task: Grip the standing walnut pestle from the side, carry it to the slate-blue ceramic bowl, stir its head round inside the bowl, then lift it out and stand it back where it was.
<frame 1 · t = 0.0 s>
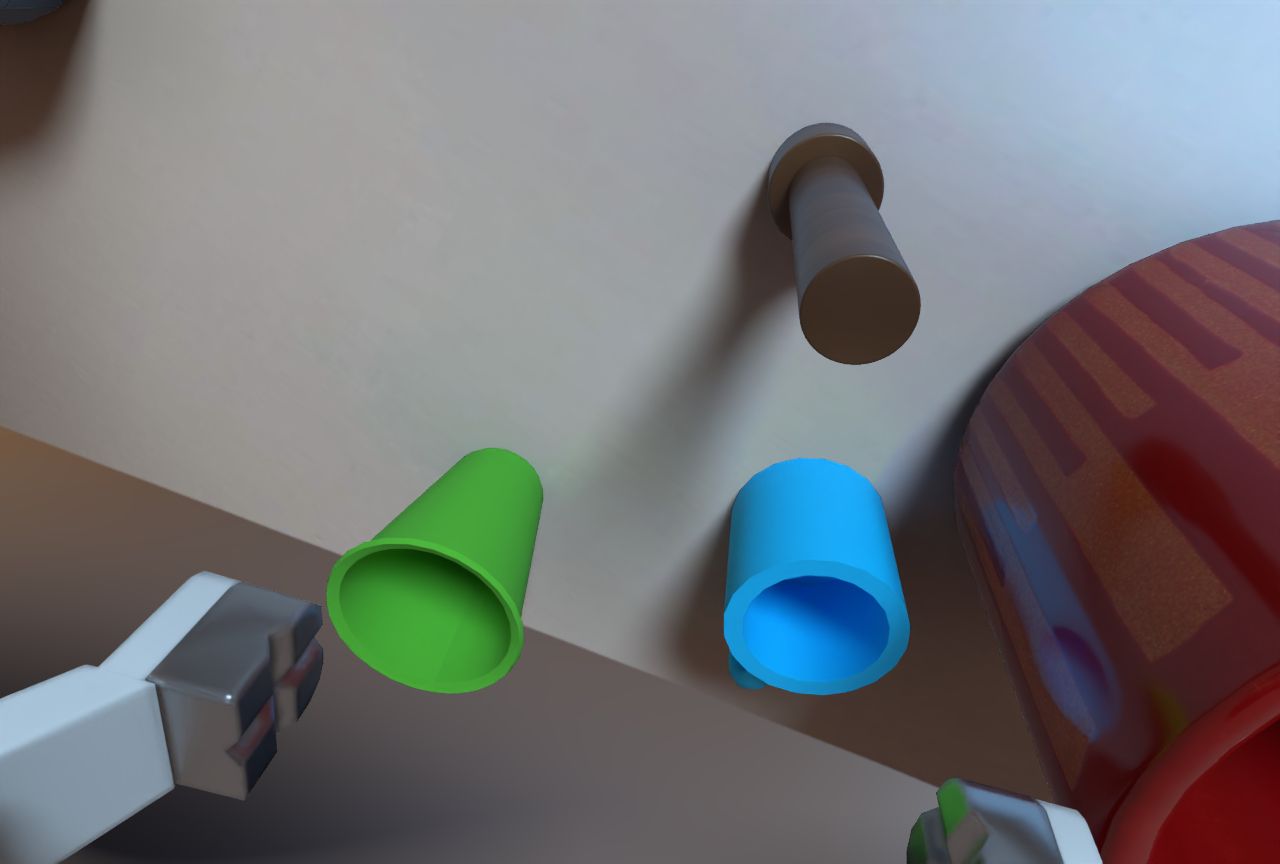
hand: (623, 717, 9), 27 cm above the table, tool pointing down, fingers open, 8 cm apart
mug: (788, 544, 41), on the table
pestle: (820, 178, 31), on the table
planter: (1204, 454, 35), on the table
cup: (501, 482, 42), on the table
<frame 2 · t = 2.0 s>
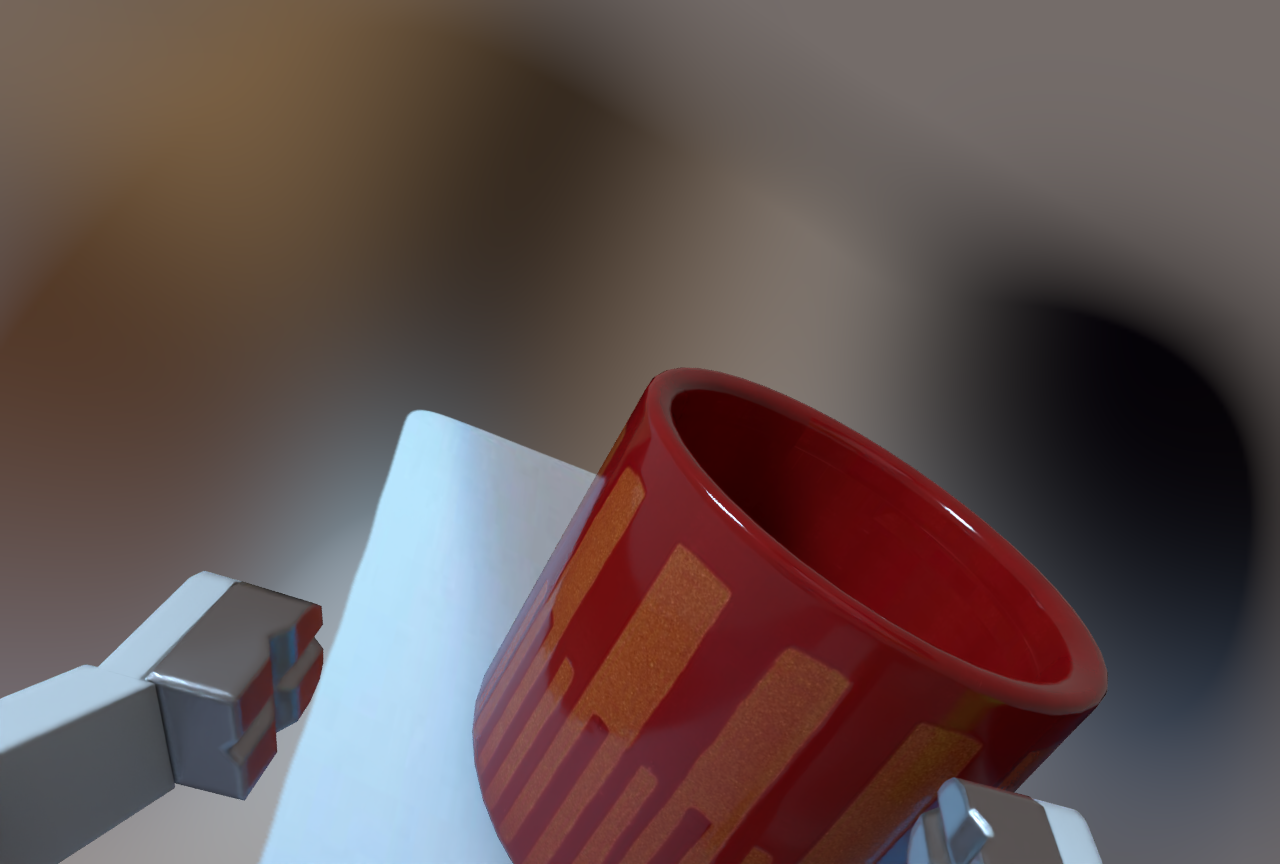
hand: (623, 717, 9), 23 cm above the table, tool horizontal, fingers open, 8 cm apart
planter: (659, 788, 41), on the table
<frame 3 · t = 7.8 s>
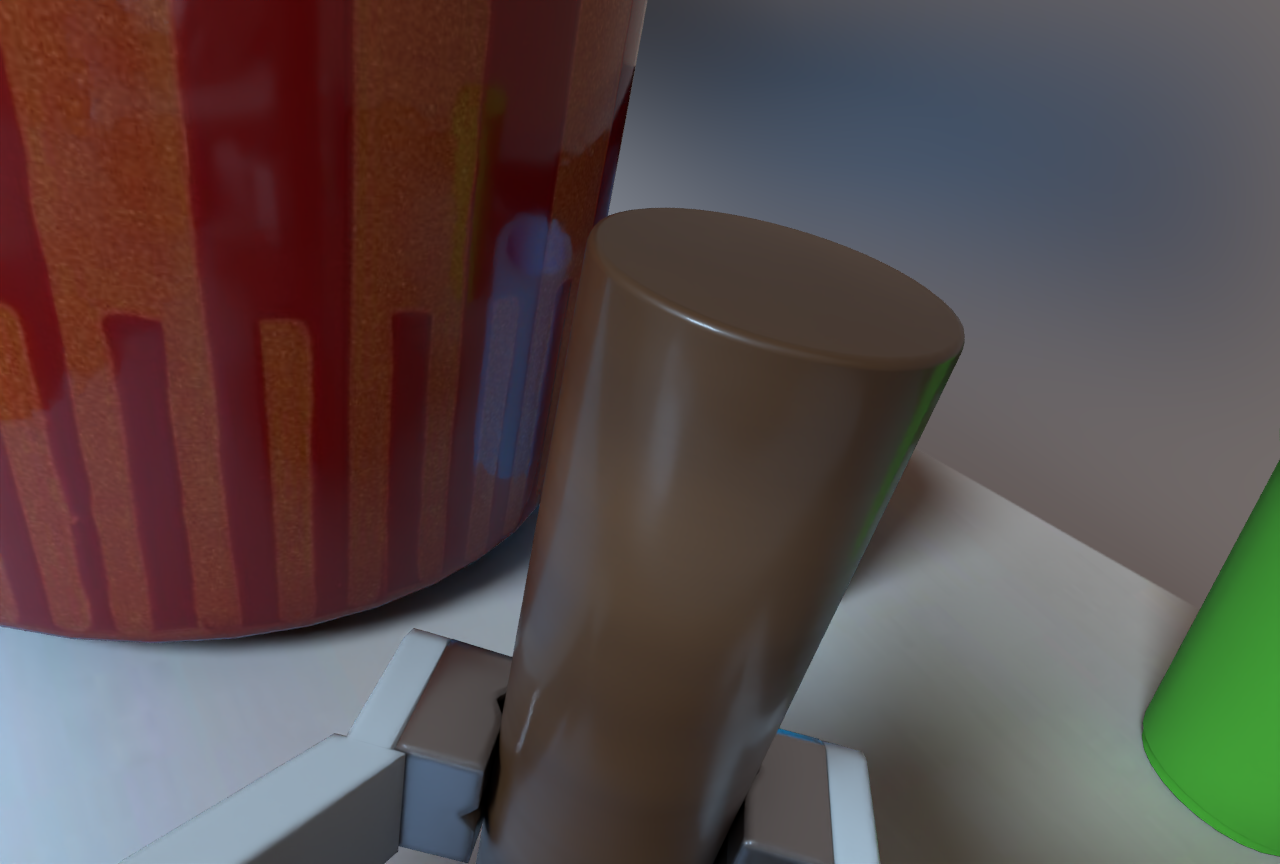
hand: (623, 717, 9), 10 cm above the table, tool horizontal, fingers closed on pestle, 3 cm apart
planter: (259, 435, 28), on the table
cup: (1219, 783, 24), on the table
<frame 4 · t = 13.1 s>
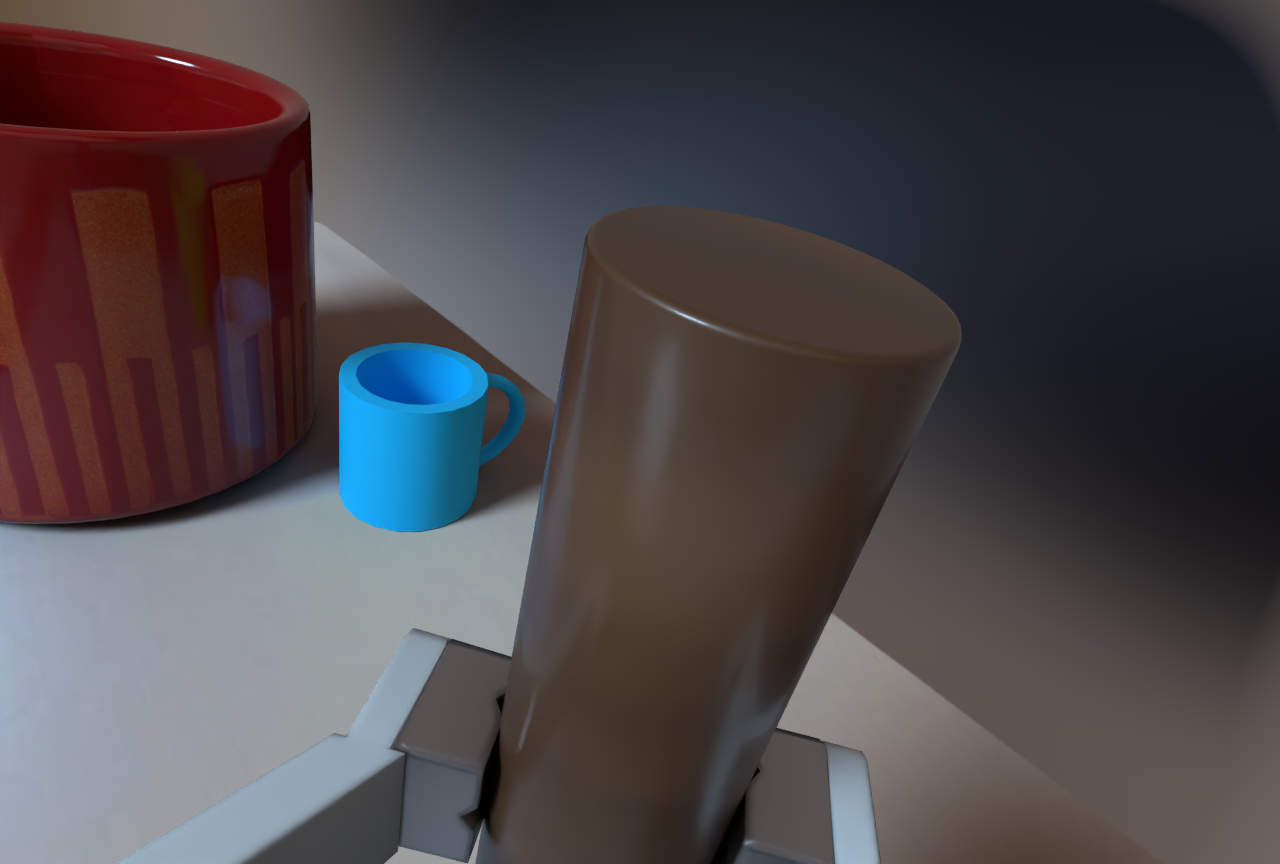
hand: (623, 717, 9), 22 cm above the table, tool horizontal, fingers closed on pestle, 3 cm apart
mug: (437, 483, 48), on the table
planter: (117, 421, 46), on the table
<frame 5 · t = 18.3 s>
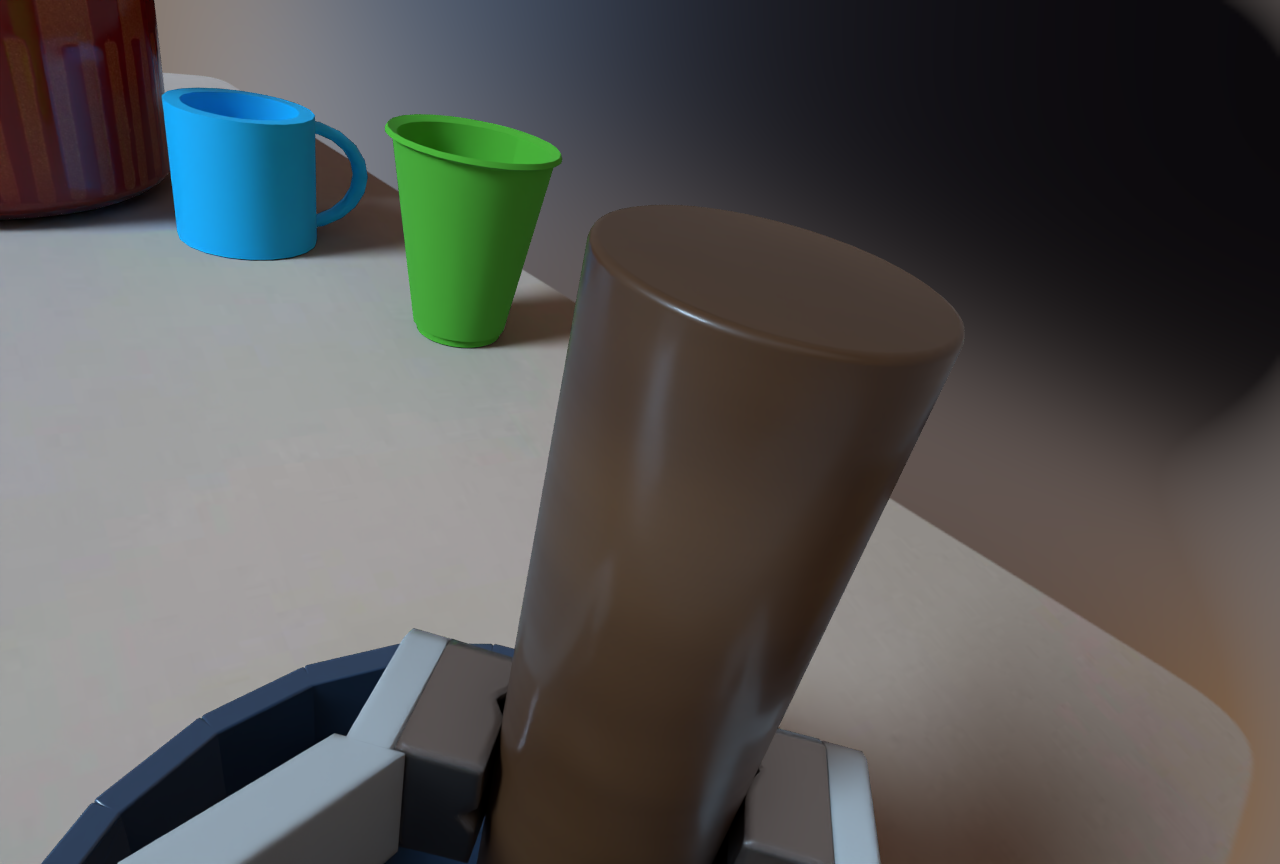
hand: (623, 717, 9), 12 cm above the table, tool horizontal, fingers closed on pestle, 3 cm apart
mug: (280, 237, 50), on the table
cup: (458, 331, 44), on the table
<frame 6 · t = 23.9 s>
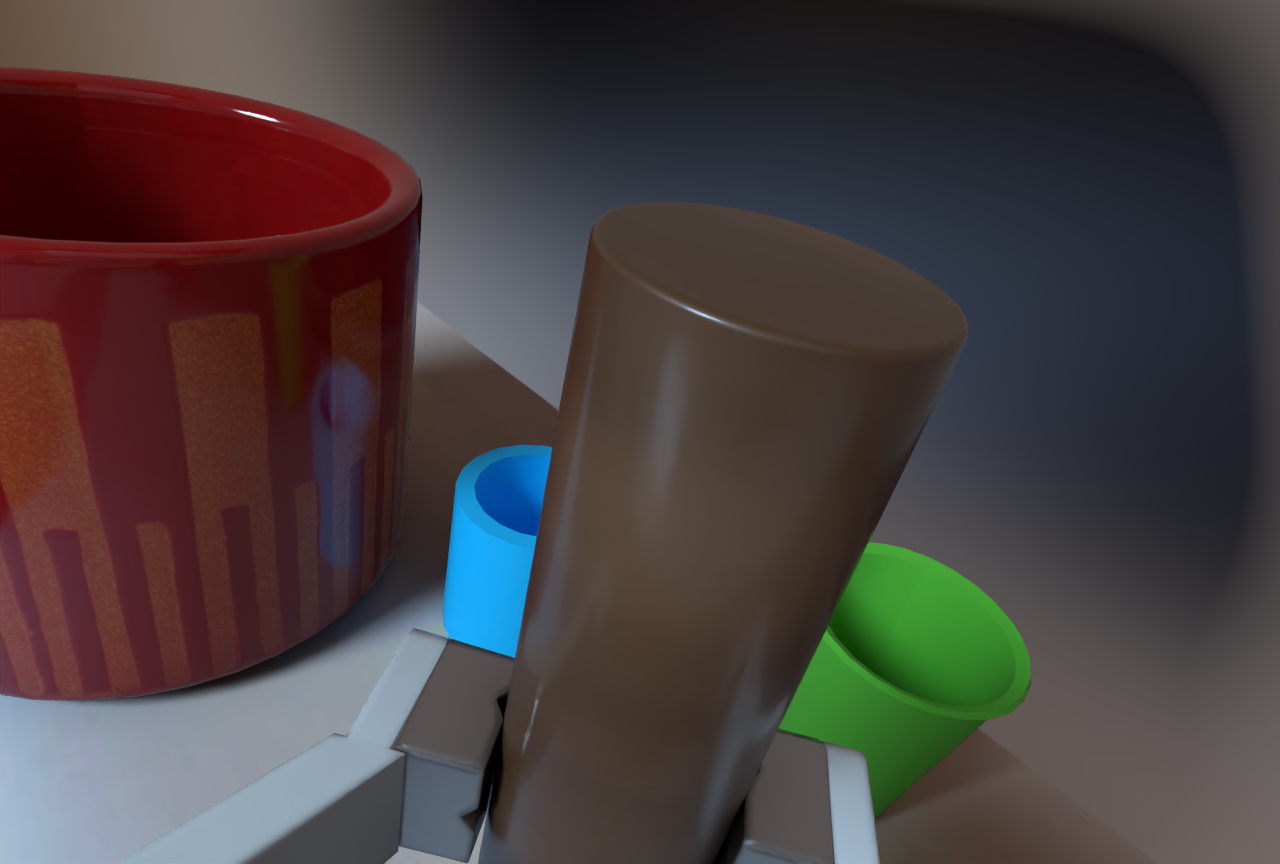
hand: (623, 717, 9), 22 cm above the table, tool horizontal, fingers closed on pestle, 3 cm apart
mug: (549, 602, 41), on the table
planter: (175, 535, 39), on the table
cup: (822, 783, 35), on the table
when the fingers open (10 cm above the table, at t = 28.7 s): pestle stays where it is, on the table.
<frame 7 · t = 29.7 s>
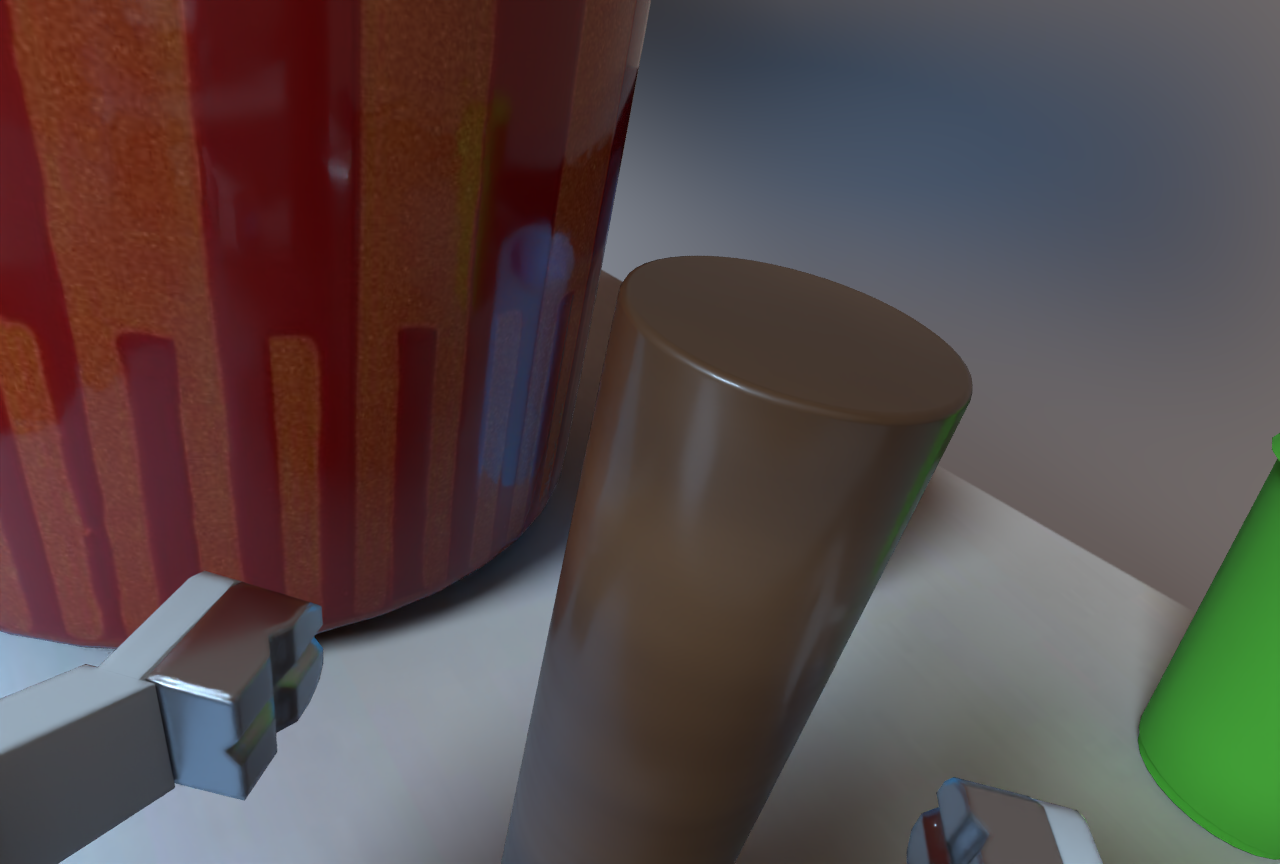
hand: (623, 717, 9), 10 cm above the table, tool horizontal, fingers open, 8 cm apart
planter: (265, 442, 29), on the table
cup: (1214, 787, 24), on the table
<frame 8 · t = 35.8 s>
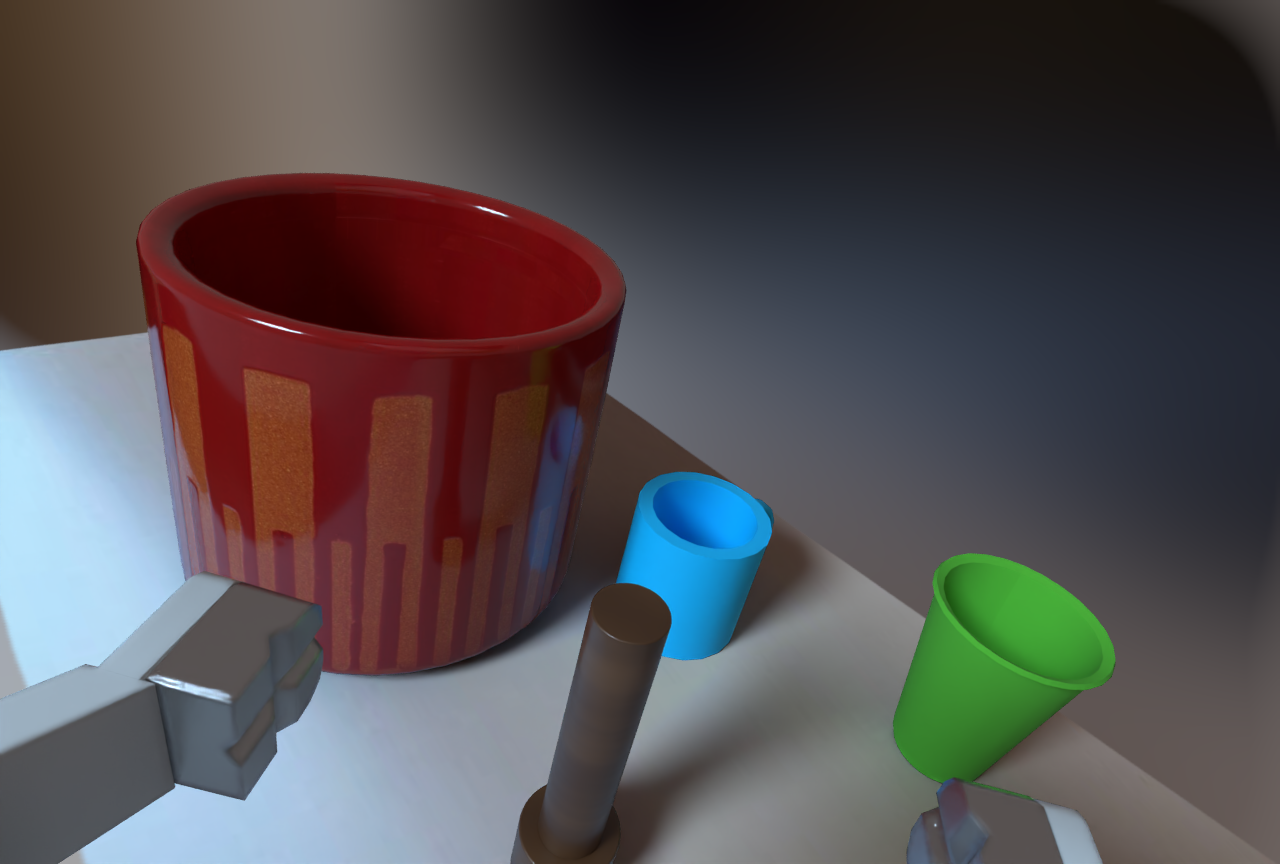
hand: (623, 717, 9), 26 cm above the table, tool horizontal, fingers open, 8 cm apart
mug: (693, 601, 50), on the table
planter: (391, 545, 48), on the table
cup: (932, 748, 43), on the table
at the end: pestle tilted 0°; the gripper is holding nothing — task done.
